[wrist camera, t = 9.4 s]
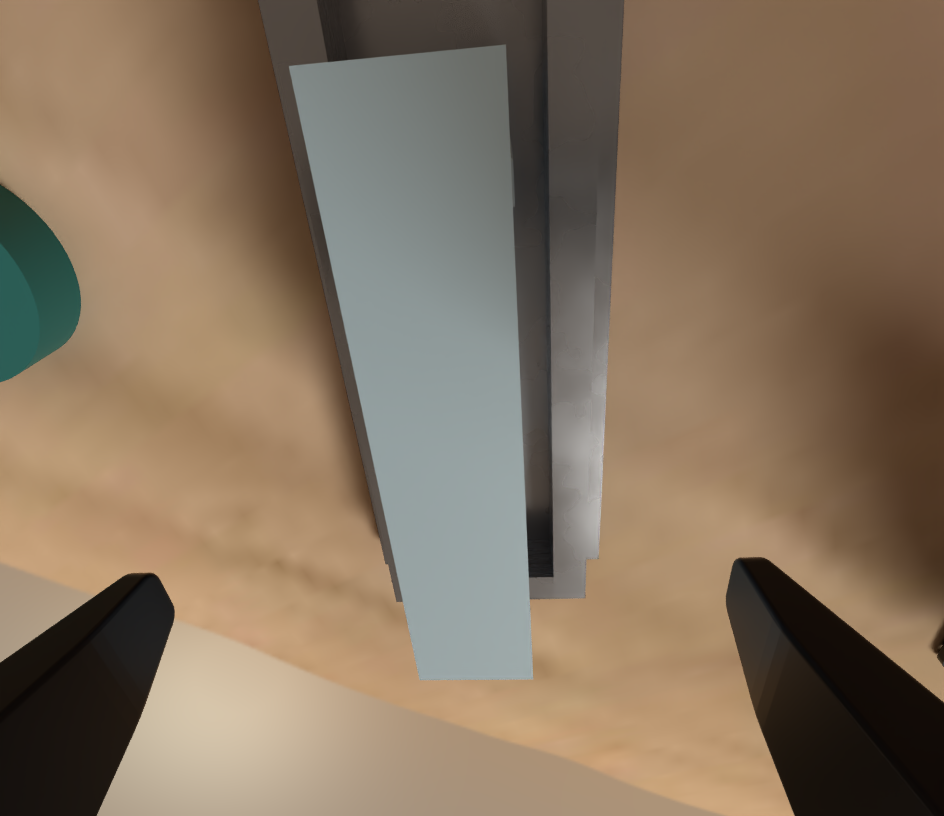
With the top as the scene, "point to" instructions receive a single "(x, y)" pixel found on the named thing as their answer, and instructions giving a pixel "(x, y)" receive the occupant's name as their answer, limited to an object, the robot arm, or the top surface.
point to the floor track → (535, 228)
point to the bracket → (32, 288)
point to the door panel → (433, 334)
